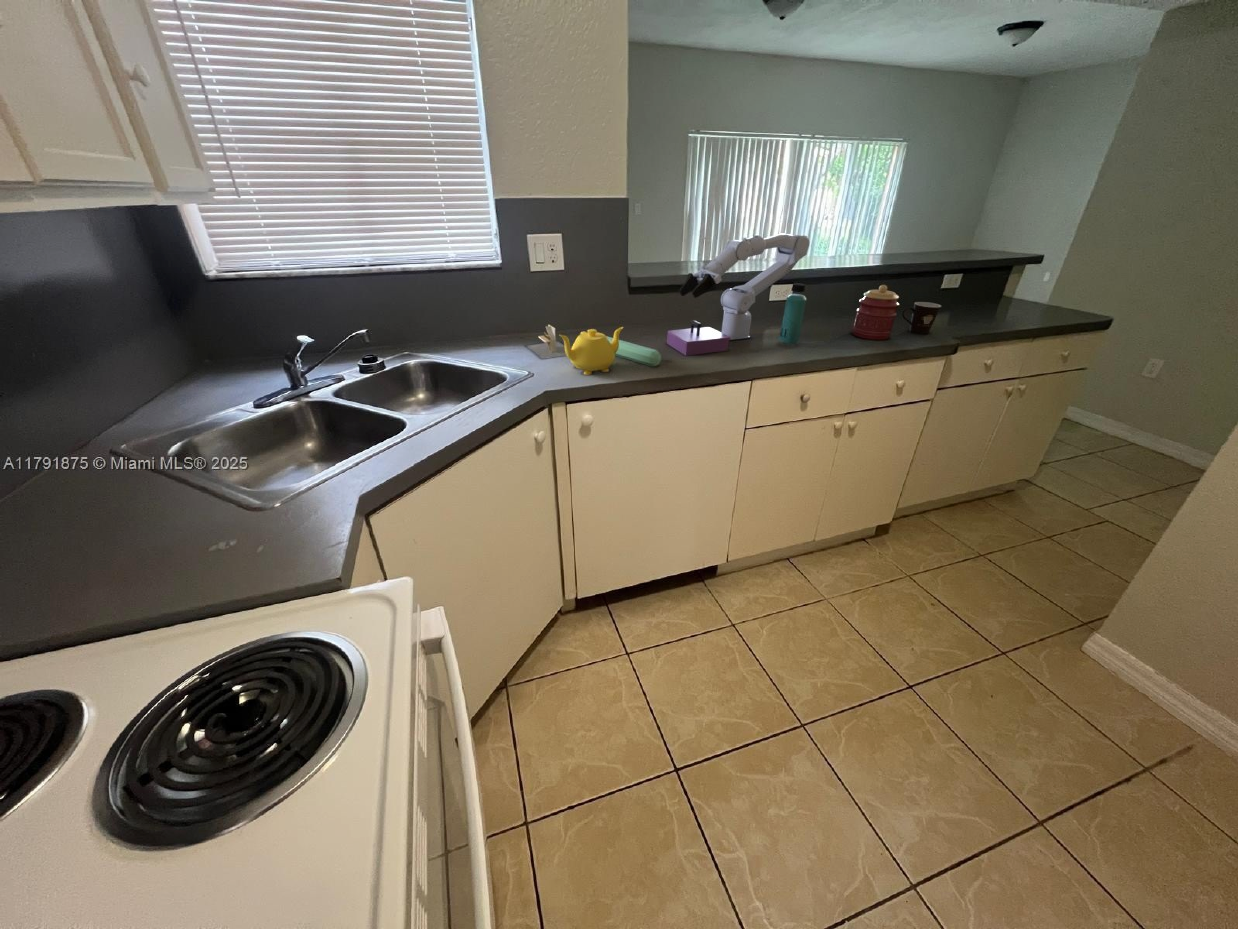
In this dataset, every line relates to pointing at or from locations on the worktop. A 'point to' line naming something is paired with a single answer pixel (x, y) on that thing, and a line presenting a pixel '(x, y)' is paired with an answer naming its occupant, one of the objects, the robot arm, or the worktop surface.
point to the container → (637, 353)
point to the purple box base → (697, 346)
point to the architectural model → (548, 345)
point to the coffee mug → (922, 317)
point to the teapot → (592, 350)
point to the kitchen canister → (876, 314)
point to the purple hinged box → (698, 334)
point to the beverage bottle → (793, 315)
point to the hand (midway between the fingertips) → (686, 294)
